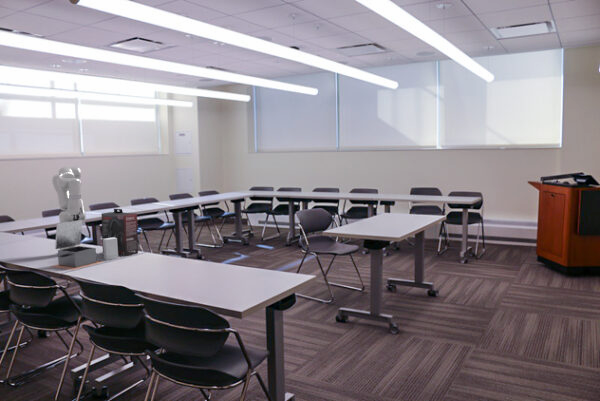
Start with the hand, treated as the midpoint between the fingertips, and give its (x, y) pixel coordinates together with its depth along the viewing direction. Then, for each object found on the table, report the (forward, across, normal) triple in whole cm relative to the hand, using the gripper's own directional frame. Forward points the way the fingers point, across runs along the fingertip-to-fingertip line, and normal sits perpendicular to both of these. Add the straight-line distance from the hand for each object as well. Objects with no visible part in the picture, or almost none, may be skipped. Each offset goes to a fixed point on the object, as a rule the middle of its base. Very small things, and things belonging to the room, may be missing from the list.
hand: (76, 224), depth 321 cm
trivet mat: (+26, +8, -7) cm, 28 cm away
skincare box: (+26, +14, +15) cm, 33 cm away
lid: (+6, +2, -7) cm, 9 cm away
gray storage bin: (+25, +8, -7) cm, 27 cm away
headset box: (+26, +4, +33) cm, 42 cm away
